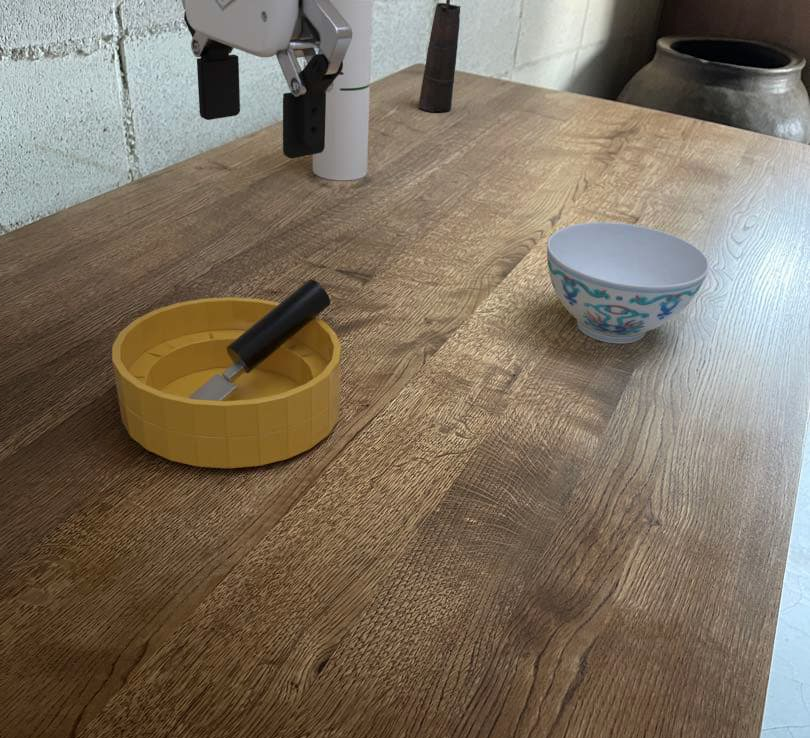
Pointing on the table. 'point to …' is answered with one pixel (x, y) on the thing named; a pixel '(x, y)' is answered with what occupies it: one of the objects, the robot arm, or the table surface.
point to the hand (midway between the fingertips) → (260, 134)
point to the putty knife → (266, 338)
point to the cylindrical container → (349, 101)
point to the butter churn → (441, 59)
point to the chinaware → (623, 277)
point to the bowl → (258, 390)
